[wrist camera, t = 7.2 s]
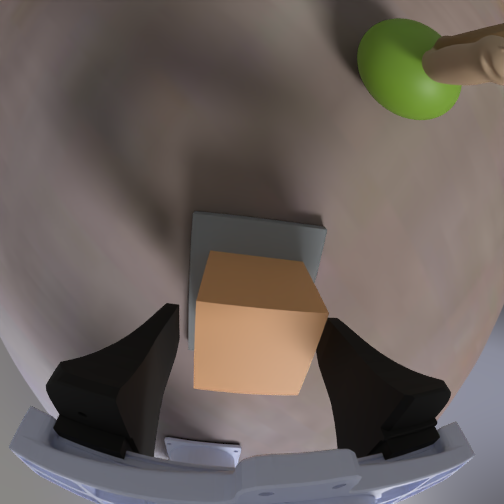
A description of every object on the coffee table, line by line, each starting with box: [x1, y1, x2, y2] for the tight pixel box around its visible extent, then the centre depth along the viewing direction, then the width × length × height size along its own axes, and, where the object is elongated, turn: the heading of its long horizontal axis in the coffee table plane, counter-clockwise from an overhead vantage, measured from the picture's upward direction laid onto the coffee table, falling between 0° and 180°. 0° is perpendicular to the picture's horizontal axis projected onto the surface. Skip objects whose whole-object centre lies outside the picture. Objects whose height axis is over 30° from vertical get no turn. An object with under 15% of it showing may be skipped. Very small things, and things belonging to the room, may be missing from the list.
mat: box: [188, 211, 327, 350], centre depth 16 cm, size 9×7×1 cm
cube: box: [194, 251, 329, 395], centre depth 13 cm, size 5×5×5 cm
